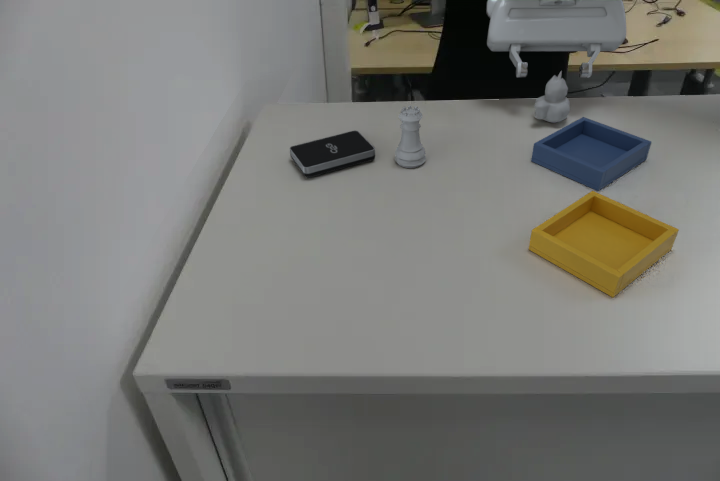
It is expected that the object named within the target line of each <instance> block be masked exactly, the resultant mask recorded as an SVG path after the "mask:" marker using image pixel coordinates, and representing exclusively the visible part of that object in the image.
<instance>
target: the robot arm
mask: <svg viewBox="0 0 720 481" xmlns="http://www.w3.org/2000/svg"><path fill="white" fill-rule="evenodd" d="M625 9H626V8H625V4H624V2H623V0H487V1H486V8H485V10H486V15H487V17H488V18H489V19H490V20H489V25H488V31H487V36H486V38H487V39H486V46H487V48H488V49H489V50H490V51H491V52H509V59H510V61H511V62H512V64H513V65H514V67H515V77H516V78H527V76H528V67H529V66H528V62H525V61H522V58H521V57H520V53H521V52H586V54H587V55H586V57H587V58H589V60H588V61H587V62H582V63H581V64H580V65H579V69H578V70H579V71H578V73H579V74H578V78H582V79H583V78H585V79H586V78H587V79H589V78H591V76H592V75H593V64H594V62H595V61H596V59H597V57H598V56H599V54H600V52H615V51H617V50H618V49H619V47H620V46H621V45H623V43H624V41H625V39H626V37H627V17H626V10H625Z"/></svg>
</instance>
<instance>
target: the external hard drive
mask: <svg viewBox="0 0 720 481" xmlns="http://www.w3.org/2000/svg"><path fill="white" fill-rule="evenodd" d="M289 154H290V158H291V159H292V161H293V162H294V164H295V165H296V167H297V168H298V169H299V170H300V172H301V174H302V175H303V176H304V177H305V178H307V179H309V178H312V177H316V176H321V175H323V174H324V175H325V174H328V173H331V172H334V171H338V170H343V169H346V168H349V167H353V166H356V165H361V164H363V163H367V162H371V161H374V160H375V159H376V147H375V146H374V145H373V144H372V143H371V142H370V141H369V140H368V139H367V138H366V137H365V136H364V135H363V134H362V133H361V131H359V130H357V129H356V130H355V129H354V130H350V131H346V132H342V133H338V134H333V135H330V136H326V137H322V138H318V139H315V140H310V141H306V142H302V143H298V144H295V145H291V146H289Z"/></svg>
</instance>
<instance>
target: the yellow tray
mask: <svg viewBox="0 0 720 481" xmlns="http://www.w3.org/2000/svg"><path fill="white" fill-rule="evenodd" d="M679 231H680V229H679V228H676V227H675V226H672V225H670V224H668V223H665V222H664V221H661V220H659V219H657V218H654V217H652V216H650V215H648V214H645V213H643V212H642V211H639V210H636V209H634V208H632V207H630V206H628V205H626V204H624V203H621V202H619V201H616V200H615V199H613V198H610V197H608V196H605V195H604V194H601V193H599V192H598V191H596V190H591V191H590V192H588V193H587V194H585V195H584V196H582V197H581V198H579V199H577V200H575V201H574V202H573V203H571V204H570V205H568V206H566V207H565V208H563V209H562V210H559V212H557V213H556V214H554V215H552V216H551V217H549V218H548V219H546V220H545V221H544V222H542V223H540V224H538V226H536V227H534V228H533V229H531V232H530V238H529V244H528V251H531V252H532V253H534V254H536V255H537V256H539V257H541V258H543V259H544V260H546V261H547V262H550V263H552V264H553V265H555V266H557V267H558V268H560V269H562V270H564V271H565V272H567V273H569V274H571V275H573V276H574V277H576V278H578V279H579V280H581V281H583V282H585V283H587V284H588V285H590V286H591V287H593V288H595V289H597V290H598V291H601V292H603V294H607V296H610V297H611V298H615V297H616V296H617V295H618V294H619V293H621V292H622V291H623V290H624V289H626V287H628V286H629V285H630V284H632V283H633V282H634V281H635V280H637V279H638V278H639V277H640V276H641V275H642V274H644V273H645V272H646V271H647V270H648V269H649V268H651V267H652V266H653V265H655V264H656V263H657V262H658V261H659V260H661V259H662V258H663V257H664V256H665V255H667V253H669V252H670V251H671V250H672V249H673V247H674V244H675V241H676V239H677V236H678V233H679Z"/></svg>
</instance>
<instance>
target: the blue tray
mask: <svg viewBox="0 0 720 481" xmlns="http://www.w3.org/2000/svg"><path fill="white" fill-rule="evenodd" d="M652 143H653V142H652V140H649V139H646V138H644V137H640V136H637V135H636V134H635V135H634V134H632V133H629V132H626V131H623V130H621V129H618V128H615V127H612V126H609V125H607V124H605V123H602V122H598V121H596V120H593V119H590V118H588V117H585V116H582V117H580V118H579V119H576V120H575V121H573V122H571V123H569V124H567V125H565V126H564V127H562V128H560V129H558V130H556V131H554V132H552V133H550V134H548V135H547V136H545V137H543V138H541V139H539V140H538V141H535V142H534V143H533V147H532V151H531V152H532V153H531V158H530V161H531V162H532V163H535V164H537V165H539V166H541V167H543V168H546V169H548V170H550V171H552V172H555V173H557V174H558V175H561V176H564V177H566V178H568V179H570V180H572V181H574V182H577V183H578V184H582V185H584V186H586V187H588V188H590V189H593V190H594V191H596V192H600V191H601V190H602V189H603V188H605V187H607V186H608V185H610V184H611V183H613V182H614V181H616V180H617V179H619V178H620V177H622V176H623V175H625V174H627V173H628V172H630V171H631V170H633V169H634V168H636V167H637V166H639V165H641V164H642V163H643V162H645V161H646V160H647V159H648V156H649V152H650V149H651V146H652Z"/></svg>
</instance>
